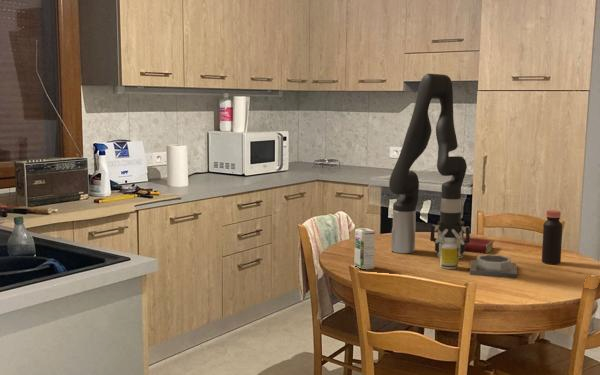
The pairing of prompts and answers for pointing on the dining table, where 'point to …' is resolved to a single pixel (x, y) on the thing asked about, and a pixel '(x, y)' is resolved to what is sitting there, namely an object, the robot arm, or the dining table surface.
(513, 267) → the collar base
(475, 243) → the hardcover book
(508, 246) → the dining table surface
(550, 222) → the vinegar
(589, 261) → the dining table surface
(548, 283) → the dining table surface
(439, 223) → the coffee can
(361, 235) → the syrup box
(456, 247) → the pill bottle
